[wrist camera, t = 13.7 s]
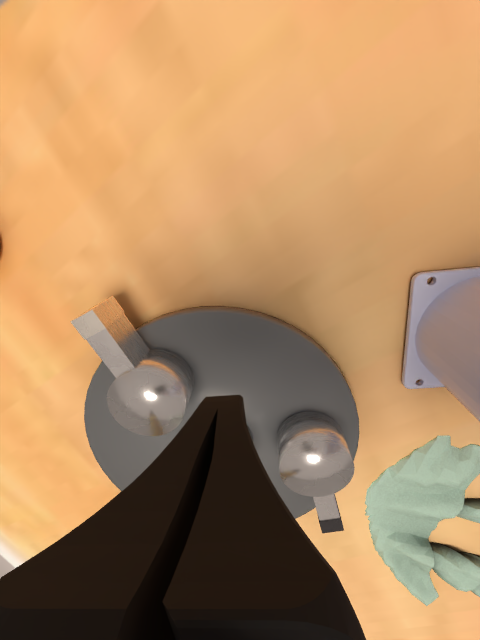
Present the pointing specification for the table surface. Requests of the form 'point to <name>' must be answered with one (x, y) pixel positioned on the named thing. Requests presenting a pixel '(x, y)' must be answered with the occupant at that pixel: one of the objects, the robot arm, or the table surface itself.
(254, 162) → the table surface
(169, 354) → the silver metal rounded piece
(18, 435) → the table surface
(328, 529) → the knob black
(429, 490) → the cloth
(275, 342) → the tribrach plate
